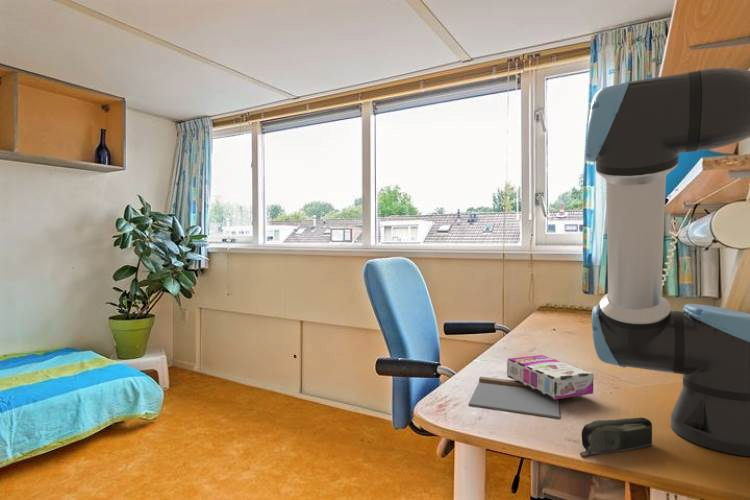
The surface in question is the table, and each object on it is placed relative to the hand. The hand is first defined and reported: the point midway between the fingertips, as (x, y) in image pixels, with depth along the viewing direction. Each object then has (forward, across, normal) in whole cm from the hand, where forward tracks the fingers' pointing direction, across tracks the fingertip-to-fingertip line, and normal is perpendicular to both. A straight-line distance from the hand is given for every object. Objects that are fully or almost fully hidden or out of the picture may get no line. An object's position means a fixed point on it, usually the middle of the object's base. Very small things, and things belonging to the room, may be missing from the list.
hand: (637, 264), depth 109 cm
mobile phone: (+30, +7, +45) cm, 54 cm away
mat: (+29, +26, +29) cm, 49 cm away
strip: (+29, +26, +21) cm, 45 cm away
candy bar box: (+26, +26, +14) cm, 39 cm away
